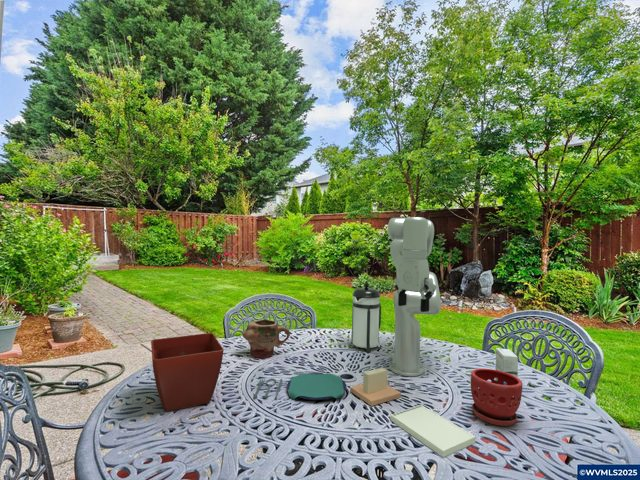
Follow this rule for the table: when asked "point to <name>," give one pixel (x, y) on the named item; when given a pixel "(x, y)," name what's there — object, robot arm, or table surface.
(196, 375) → the plant pot
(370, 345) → the coffee press
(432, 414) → the pale green notepad
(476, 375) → the plant pot
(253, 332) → the brown sculpted mug
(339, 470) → the table surface
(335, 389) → the cutlery set
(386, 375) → the light switch
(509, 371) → the ink box
